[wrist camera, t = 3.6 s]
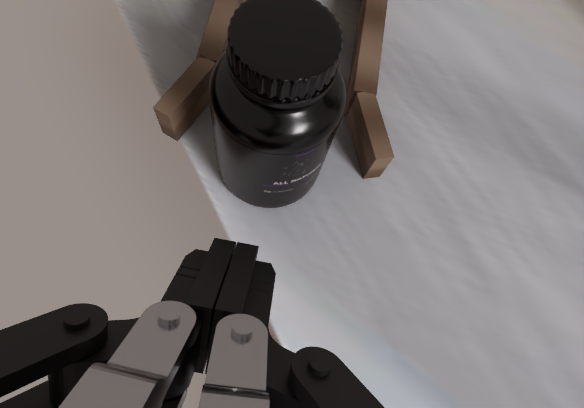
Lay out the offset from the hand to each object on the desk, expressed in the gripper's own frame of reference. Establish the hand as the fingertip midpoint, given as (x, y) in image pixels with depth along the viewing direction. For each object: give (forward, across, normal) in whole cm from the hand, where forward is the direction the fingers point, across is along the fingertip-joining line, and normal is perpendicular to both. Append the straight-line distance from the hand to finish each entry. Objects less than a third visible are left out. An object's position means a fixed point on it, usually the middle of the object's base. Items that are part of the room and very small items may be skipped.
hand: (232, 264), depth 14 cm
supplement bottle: (+15, 0, +1) cm, 15 cm away
